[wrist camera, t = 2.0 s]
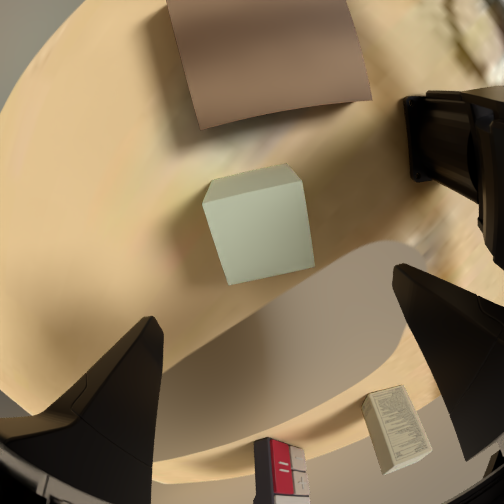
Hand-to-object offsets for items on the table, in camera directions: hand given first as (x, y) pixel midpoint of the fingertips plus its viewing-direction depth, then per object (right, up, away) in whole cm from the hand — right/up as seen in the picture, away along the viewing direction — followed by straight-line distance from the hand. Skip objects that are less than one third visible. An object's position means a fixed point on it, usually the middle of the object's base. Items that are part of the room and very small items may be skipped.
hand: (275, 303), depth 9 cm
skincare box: (+18, -19, +23) cm, 35 cm away
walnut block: (0, +15, +4) cm, 16 cm away
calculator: (+4, -32, +29) cm, 44 cm away
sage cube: (0, +5, +9) cm, 11 cm away
